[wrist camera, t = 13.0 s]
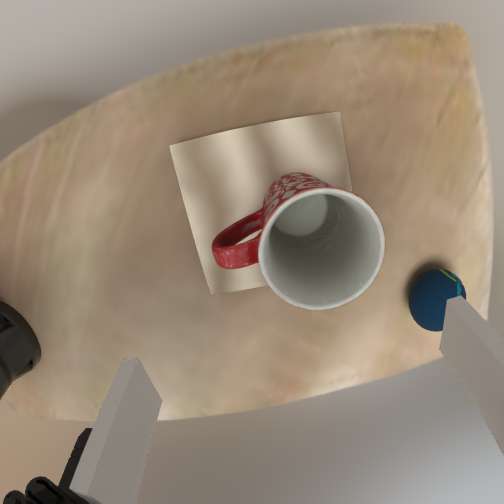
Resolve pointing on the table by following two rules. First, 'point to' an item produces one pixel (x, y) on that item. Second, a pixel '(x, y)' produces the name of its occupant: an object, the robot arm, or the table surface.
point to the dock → (251, 180)
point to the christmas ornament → (433, 297)
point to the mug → (308, 242)
